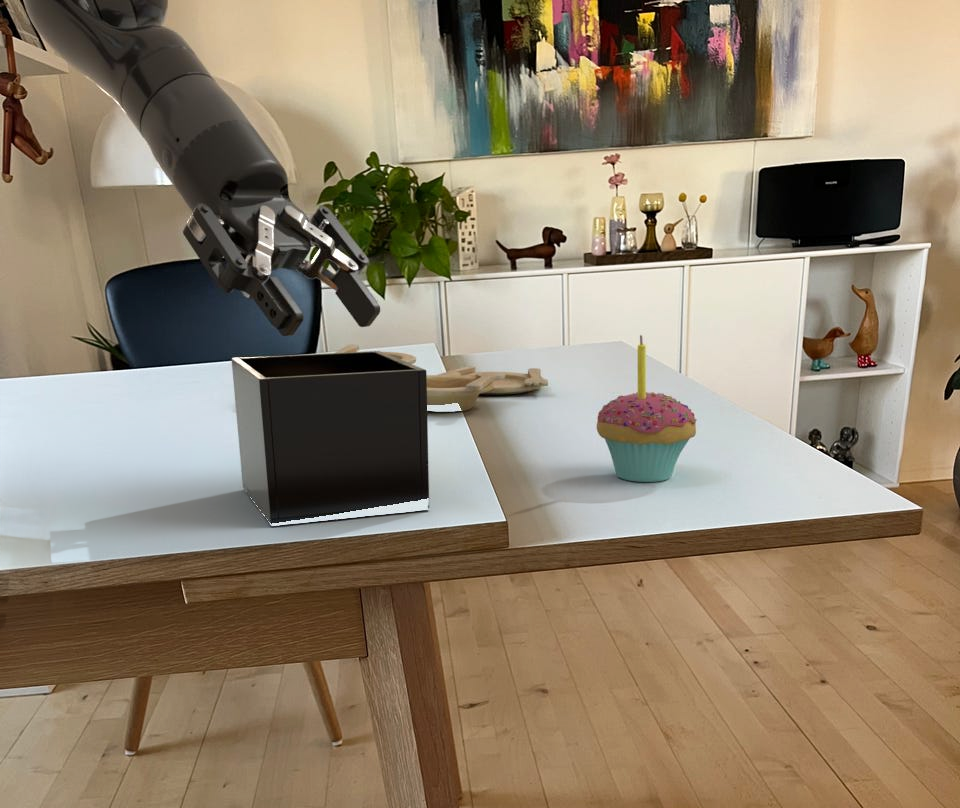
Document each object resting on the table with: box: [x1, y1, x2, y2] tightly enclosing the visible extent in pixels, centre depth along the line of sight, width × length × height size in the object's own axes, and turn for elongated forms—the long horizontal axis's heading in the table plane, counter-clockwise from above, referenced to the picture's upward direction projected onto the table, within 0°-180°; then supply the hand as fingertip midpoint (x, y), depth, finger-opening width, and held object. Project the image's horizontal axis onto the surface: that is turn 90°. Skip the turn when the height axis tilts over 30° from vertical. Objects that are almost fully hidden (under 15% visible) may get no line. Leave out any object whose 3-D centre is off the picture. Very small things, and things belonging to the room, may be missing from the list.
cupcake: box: [596, 334, 698, 483], centre depth 88 cm, size 9×8×12 cm
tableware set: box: [334, 343, 549, 413], centre depth 130 cm, size 35×29×4 cm
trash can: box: [230, 350, 430, 524], centre depth 81 cm, size 12×12×11 cm
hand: (335, 323), depth 78 cm, fingers open, 8 cm apart
